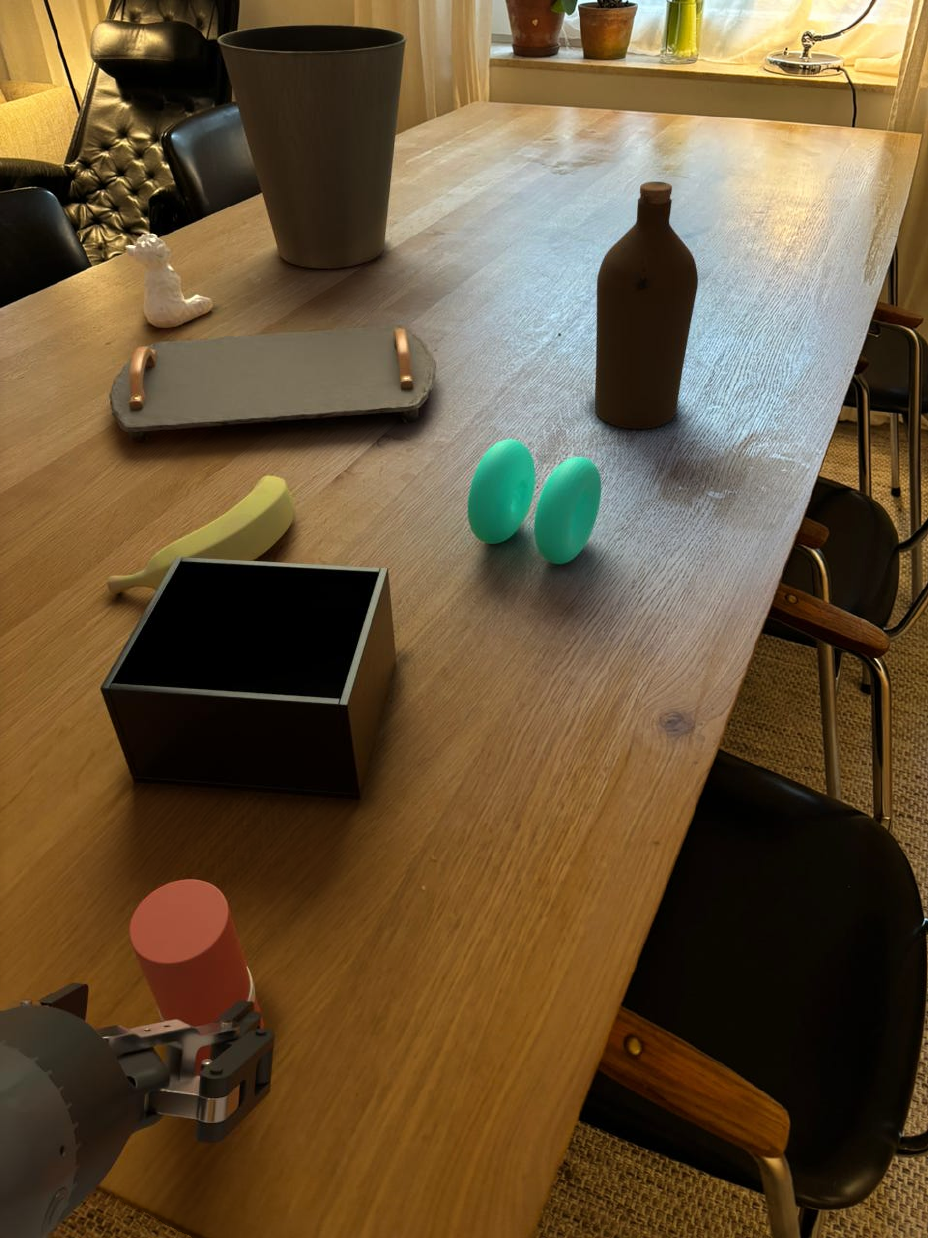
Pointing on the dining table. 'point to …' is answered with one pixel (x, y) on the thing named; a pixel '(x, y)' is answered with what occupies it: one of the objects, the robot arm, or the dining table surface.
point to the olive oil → (644, 317)
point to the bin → (256, 677)
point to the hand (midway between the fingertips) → (162, 1012)
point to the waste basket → (320, 133)
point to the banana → (225, 535)
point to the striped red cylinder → (191, 954)
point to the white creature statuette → (164, 286)
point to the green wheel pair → (509, 493)
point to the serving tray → (272, 379)
